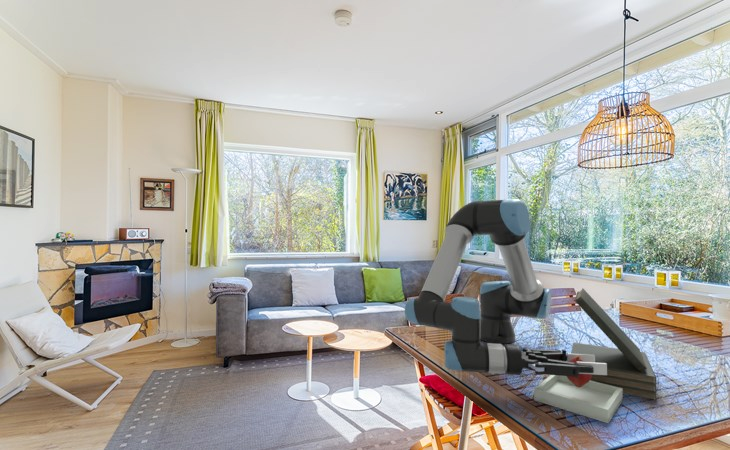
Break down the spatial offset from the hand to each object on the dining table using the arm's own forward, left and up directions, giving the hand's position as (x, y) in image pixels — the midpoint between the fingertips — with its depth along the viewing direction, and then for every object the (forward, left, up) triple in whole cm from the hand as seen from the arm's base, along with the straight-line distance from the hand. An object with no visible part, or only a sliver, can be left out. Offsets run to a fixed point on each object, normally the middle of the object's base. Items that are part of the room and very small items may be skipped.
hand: (599, 364), depth 91 cm
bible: (-2, +20, -10) cm, 23 cm away
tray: (-4, -3, -9) cm, 11 cm away
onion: (-4, -3, -6) cm, 8 cm away
